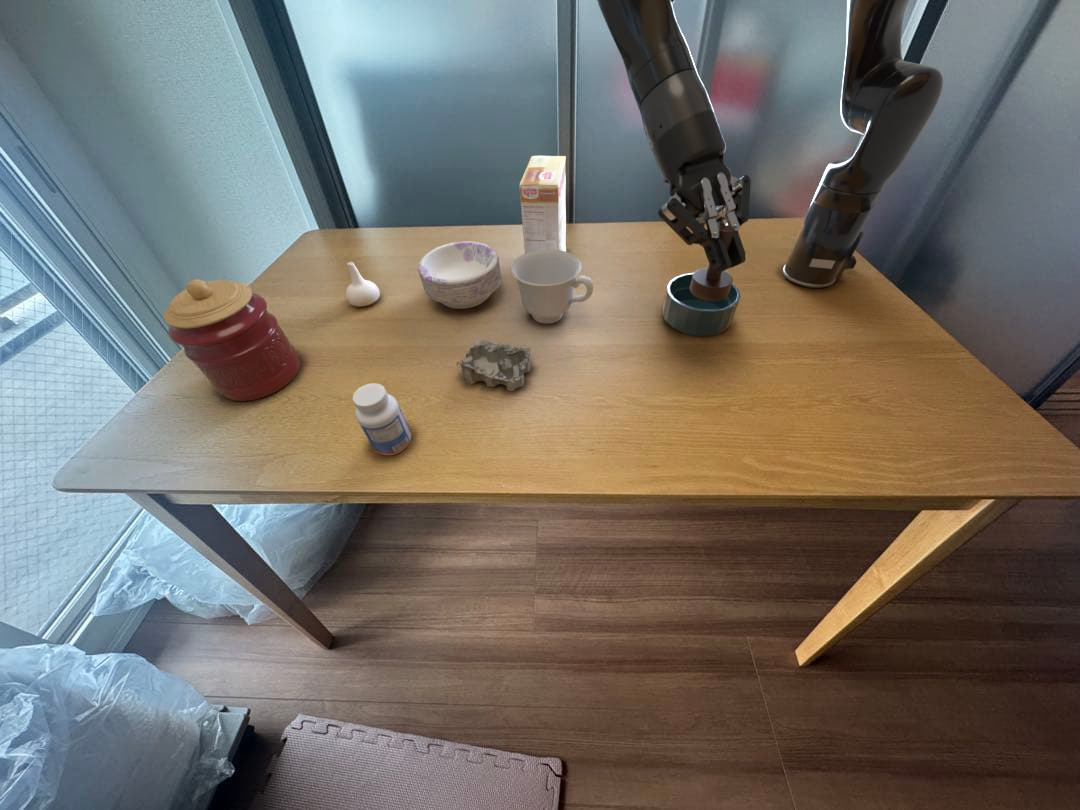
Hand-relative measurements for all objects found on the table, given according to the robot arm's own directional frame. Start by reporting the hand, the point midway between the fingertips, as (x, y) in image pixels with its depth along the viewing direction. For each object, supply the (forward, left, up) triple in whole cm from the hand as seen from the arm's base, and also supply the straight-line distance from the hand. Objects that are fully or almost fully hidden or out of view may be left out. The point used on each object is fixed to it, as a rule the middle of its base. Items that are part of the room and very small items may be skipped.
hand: (730, 267), depth 51 cm
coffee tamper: (+1, -2, -4) cm, 5 cm away
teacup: (+19, -21, -19) cm, 33 cm away
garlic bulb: (+55, -35, -19) cm, 67 cm away
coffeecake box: (+17, -39, -19) cm, 46 cm away
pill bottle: (+47, +3, -19) cm, 50 cm away
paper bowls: (+35, -32, -19) cm, 50 cm away
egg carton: (+31, -8, -19) cm, 37 cm away
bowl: (-6, -15, -19) cm, 25 cm away
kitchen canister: (+70, -16, -19) cm, 74 cm away
